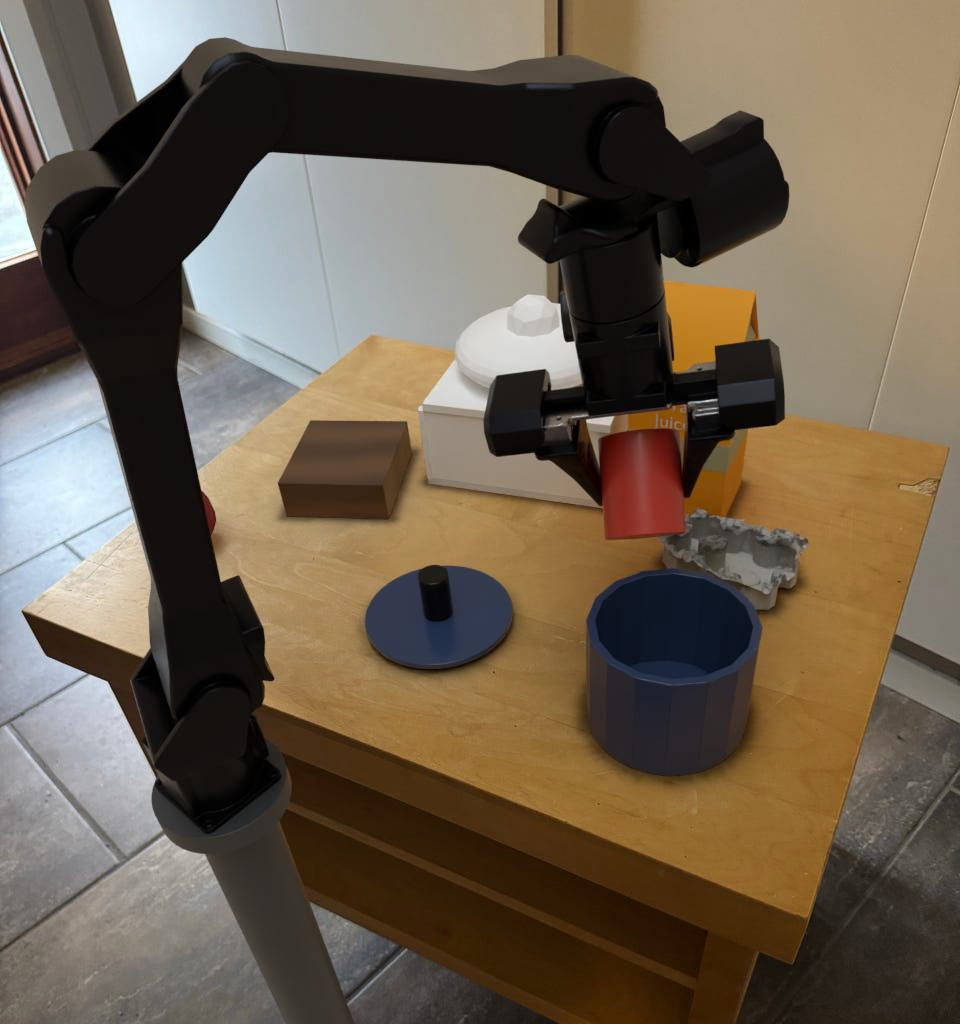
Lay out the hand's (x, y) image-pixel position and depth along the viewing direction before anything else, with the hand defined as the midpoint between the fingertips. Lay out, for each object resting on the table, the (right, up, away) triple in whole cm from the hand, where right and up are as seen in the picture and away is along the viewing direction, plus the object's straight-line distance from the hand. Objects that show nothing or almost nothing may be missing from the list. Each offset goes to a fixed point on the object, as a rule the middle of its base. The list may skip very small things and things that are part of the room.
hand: (644, 498), depth 68 cm
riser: (-24, +5, +26) cm, 36 cm away
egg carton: (+9, -5, +12) cm, 16 cm away
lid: (-15, -8, +10) cm, 20 cm away
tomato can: (0, -3, -1) cm, 3 cm away
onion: (-38, -2, +20) cm, 43 cm away
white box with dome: (-5, +9, +28) cm, 30 cm away
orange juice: (+7, +3, +20) cm, 22 cm away
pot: (+2, -15, +1) cm, 16 cm away
